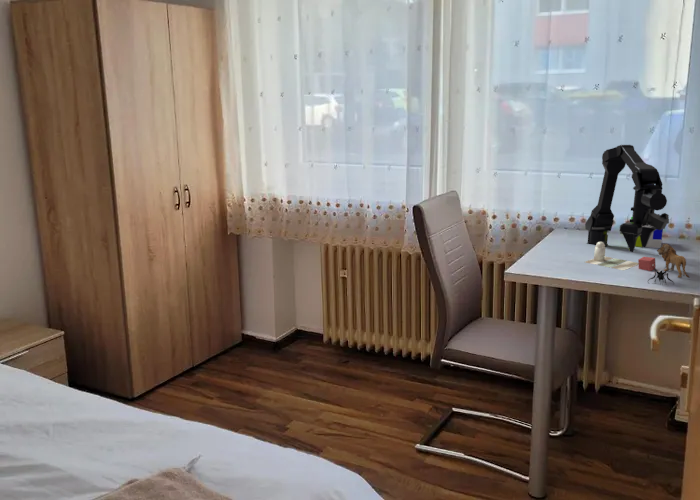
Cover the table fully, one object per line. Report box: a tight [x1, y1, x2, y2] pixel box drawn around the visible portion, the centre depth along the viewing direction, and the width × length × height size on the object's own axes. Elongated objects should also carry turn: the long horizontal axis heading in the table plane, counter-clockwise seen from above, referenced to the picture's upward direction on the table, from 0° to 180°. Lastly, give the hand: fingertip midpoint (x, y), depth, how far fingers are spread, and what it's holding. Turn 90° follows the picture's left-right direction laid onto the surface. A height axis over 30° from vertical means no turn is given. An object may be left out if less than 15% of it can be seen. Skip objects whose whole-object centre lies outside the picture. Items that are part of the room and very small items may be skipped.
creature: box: [648, 266, 675, 286], centre depth 217 cm, size 8×5×8 cm
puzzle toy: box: [630, 216, 664, 249], centre depth 268 cm, size 10×10×10 cm
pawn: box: [593, 242, 607, 261], centre depth 242 cm, size 4×4×7 cm
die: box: [637, 256, 656, 272], centre depth 231 cm, size 4×4×4 cm
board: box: [584, 255, 639, 271], centre depth 239 cm, size 15×14×1 cm
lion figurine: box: [656, 243, 691, 279], centre depth 228 cm, size 15×5×9 cm, turn 15°
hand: (637, 249), depth 232 cm, fingers open, 9 cm apart
